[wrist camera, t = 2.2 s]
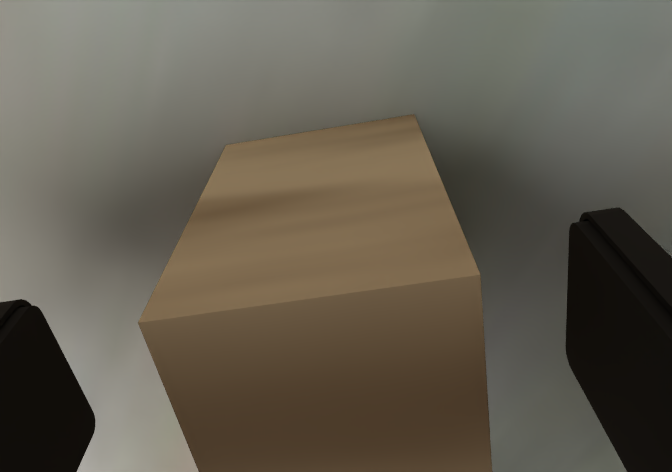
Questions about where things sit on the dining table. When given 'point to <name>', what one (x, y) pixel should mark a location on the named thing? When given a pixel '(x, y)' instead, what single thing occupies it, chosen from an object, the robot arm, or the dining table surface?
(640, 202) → the dining table surface
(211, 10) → the dining table surface
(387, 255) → the oak block
